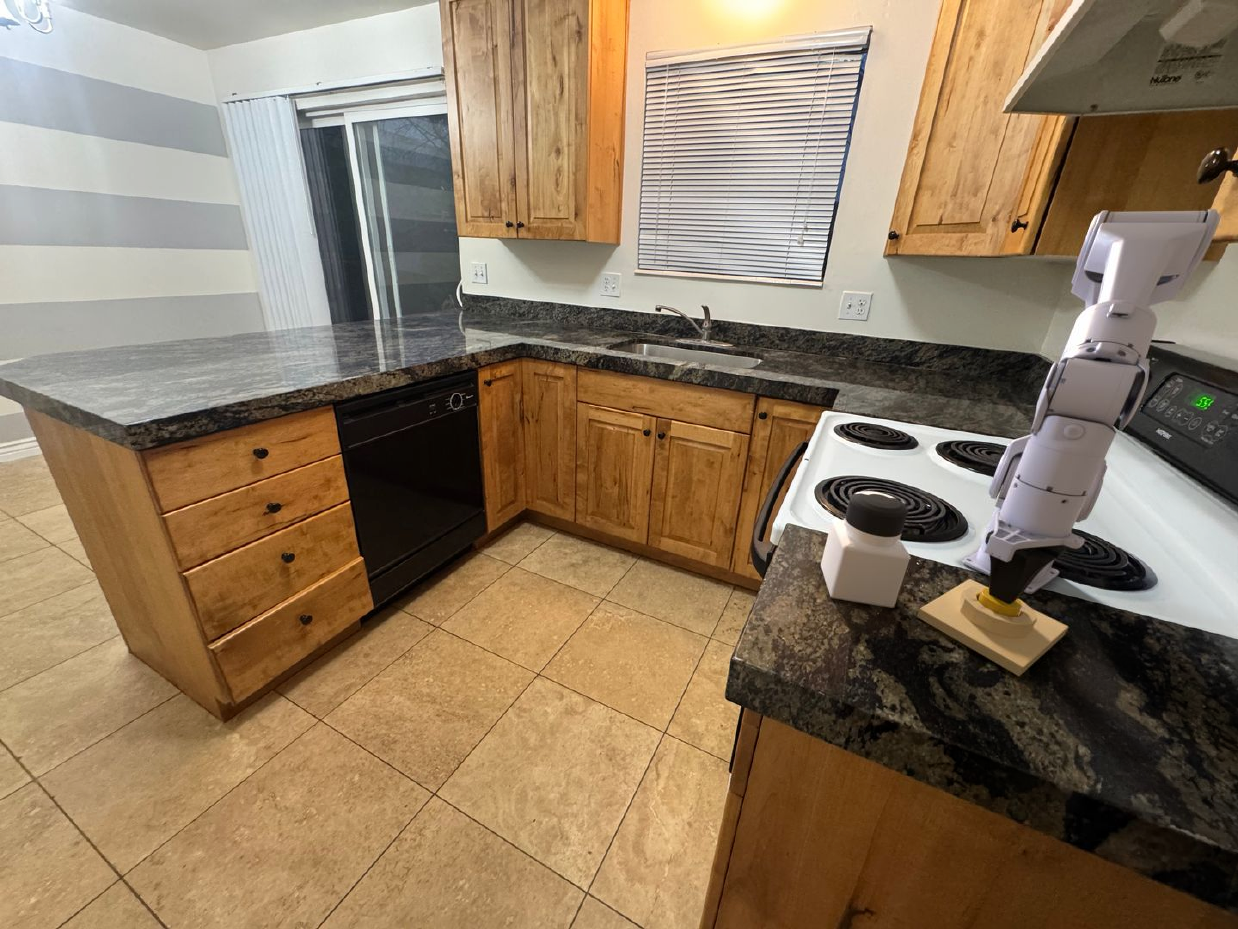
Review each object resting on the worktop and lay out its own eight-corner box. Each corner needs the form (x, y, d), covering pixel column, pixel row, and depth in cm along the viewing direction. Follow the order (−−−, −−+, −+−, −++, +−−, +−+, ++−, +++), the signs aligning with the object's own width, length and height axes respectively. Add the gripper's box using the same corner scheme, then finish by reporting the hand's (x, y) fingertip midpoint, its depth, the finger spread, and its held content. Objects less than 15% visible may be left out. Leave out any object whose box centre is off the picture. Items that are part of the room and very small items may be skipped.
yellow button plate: (966, 586, 62) (974, 566, 61) (1064, 635, 55) (1075, 613, 53) (916, 617, 56) (924, 595, 55) (1019, 677, 48) (1030, 653, 47)
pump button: (984, 598, 57) (990, 583, 56) (1021, 617, 54) (1028, 601, 53) (969, 608, 55) (975, 593, 54) (1006, 628, 52) (1013, 612, 51)
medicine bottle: (894, 609, 57) (925, 517, 52) (829, 599, 58) (854, 508, 54) (877, 574, 63) (903, 490, 59) (819, 565, 65) (840, 482, 60)
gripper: (1074, 516, 42) (1016, 643, 47) (1126, 485, 49) (1071, 598, 54) (982, 485, 47) (938, 602, 52) (1042, 461, 55) (999, 565, 60)
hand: (1001, 597), depth 54 cm, fingers closed, pressing on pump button
